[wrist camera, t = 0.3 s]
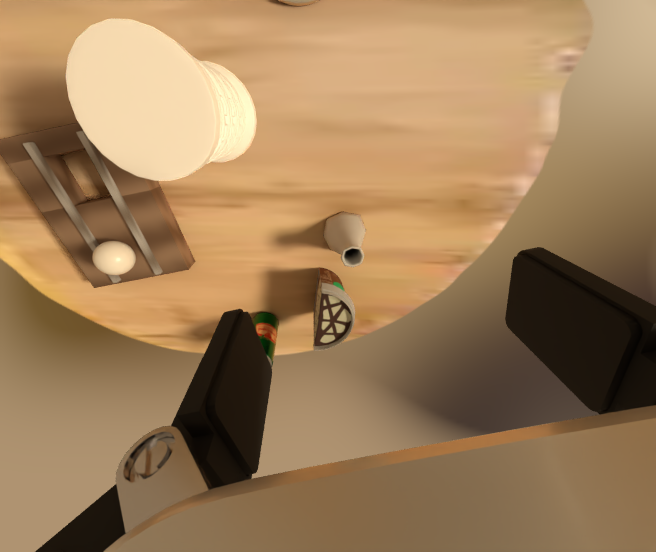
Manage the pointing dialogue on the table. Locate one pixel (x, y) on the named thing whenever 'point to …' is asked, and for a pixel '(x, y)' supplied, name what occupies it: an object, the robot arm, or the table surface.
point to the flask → (346, 237)
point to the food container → (331, 311)
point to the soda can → (267, 332)
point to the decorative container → (155, 101)
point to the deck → (97, 205)
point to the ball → (114, 257)
